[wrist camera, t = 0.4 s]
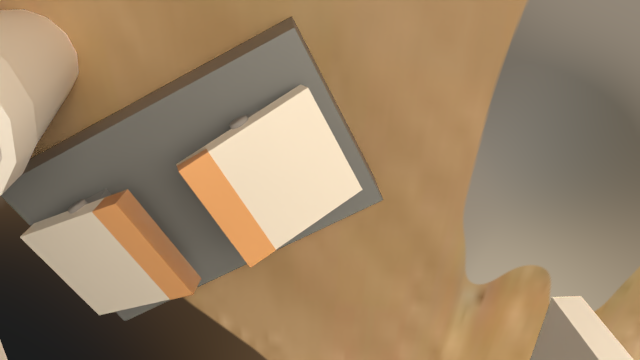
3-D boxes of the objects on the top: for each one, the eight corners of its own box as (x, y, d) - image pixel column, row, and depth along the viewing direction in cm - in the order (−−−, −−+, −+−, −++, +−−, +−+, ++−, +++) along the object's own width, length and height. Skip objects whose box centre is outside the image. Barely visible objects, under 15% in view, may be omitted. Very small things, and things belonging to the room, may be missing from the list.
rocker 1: (37, 215, 33) (17, 235, 32) (130, 180, 30) (113, 201, 28) (115, 296, 37) (100, 317, 36) (206, 274, 33) (194, 296, 32)
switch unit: (21, 163, 36) (-18, 201, 31) (291, 16, 33) (295, 32, 28) (138, 290, 43) (121, 338, 38) (374, 177, 39) (389, 213, 35)
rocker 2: (173, 158, 29) (176, 168, 27) (295, 80, 30) (306, 84, 29) (244, 255, 33) (251, 269, 31) (351, 182, 34) (364, 192, 32)
